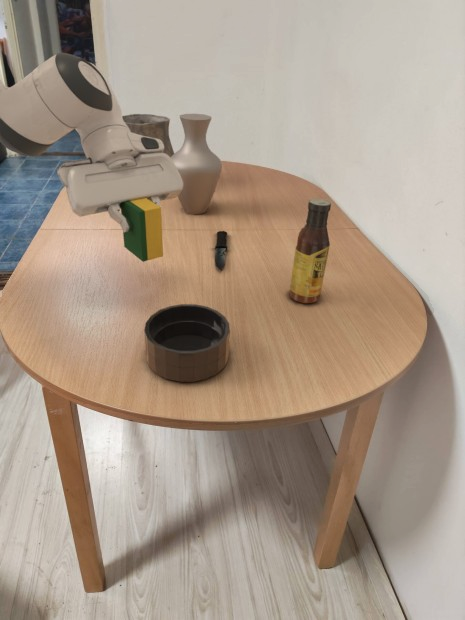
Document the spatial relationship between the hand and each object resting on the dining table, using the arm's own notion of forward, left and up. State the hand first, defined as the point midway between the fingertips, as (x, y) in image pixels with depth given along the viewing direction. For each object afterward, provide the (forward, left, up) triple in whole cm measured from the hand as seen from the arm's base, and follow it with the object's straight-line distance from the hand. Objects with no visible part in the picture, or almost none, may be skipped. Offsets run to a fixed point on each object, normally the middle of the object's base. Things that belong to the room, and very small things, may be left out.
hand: (143, 227), depth 78 cm
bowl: (-3, -17, -16) cm, 24 cm away
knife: (+25, +10, -16) cm, 32 cm away
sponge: (0, +1, -5) cm, 5 cm away
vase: (+36, +36, -16) cm, 53 cm away
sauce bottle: (+27, -15, -16) cm, 35 cm away
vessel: (+36, +63, -16) cm, 74 cm away
